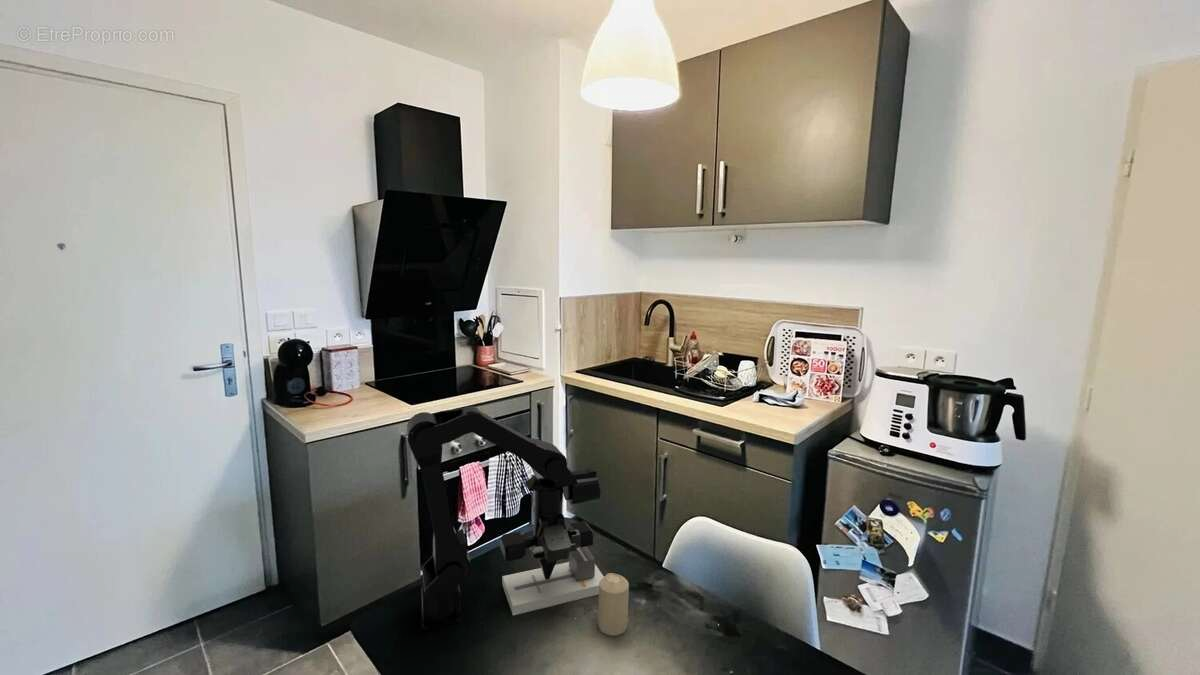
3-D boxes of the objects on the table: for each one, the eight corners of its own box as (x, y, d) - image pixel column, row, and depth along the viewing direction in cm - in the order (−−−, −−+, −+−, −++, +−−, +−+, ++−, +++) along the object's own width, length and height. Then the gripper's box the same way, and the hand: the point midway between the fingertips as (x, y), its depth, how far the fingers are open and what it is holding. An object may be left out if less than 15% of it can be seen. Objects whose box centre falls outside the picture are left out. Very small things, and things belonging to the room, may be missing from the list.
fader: (576, 580, 102) (577, 562, 101) (568, 567, 107) (569, 549, 106) (594, 576, 103) (595, 558, 103) (586, 563, 108) (586, 546, 108)
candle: (630, 619, 94) (632, 571, 93) (622, 639, 89) (624, 588, 88) (603, 612, 96) (604, 565, 95) (594, 631, 91) (595, 581, 90)
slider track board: (512, 615, 95) (512, 605, 94) (502, 585, 104) (502, 575, 103) (607, 592, 102) (608, 582, 102) (590, 565, 111) (590, 556, 111)
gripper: (511, 534, 89) (510, 613, 91) (606, 518, 96) (603, 592, 98) (499, 507, 99) (498, 578, 101) (585, 494, 107) (583, 561, 108)
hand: (546, 578), depth 102 cm, fingers closed
